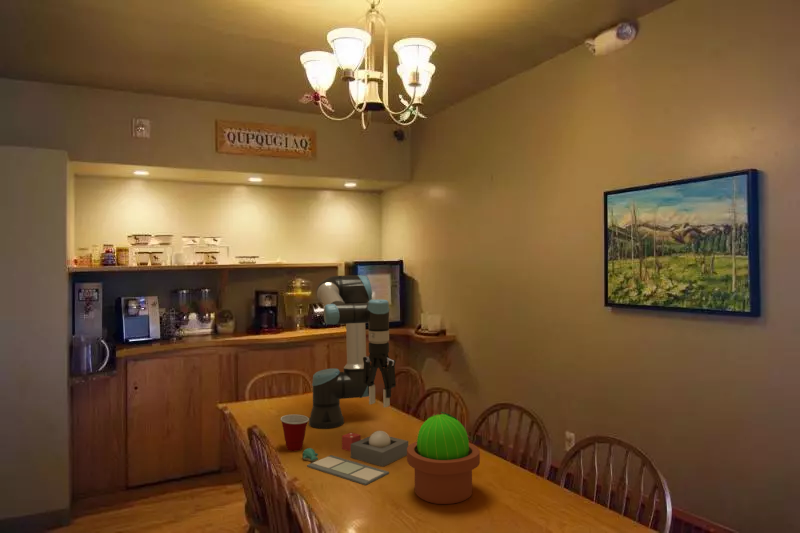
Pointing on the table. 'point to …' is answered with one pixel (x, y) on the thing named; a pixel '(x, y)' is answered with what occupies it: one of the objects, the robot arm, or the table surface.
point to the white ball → (379, 439)
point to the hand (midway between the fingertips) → (379, 404)
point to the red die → (349, 440)
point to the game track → (348, 469)
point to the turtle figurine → (309, 455)
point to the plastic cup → (294, 430)
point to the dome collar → (379, 451)
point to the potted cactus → (443, 460)
